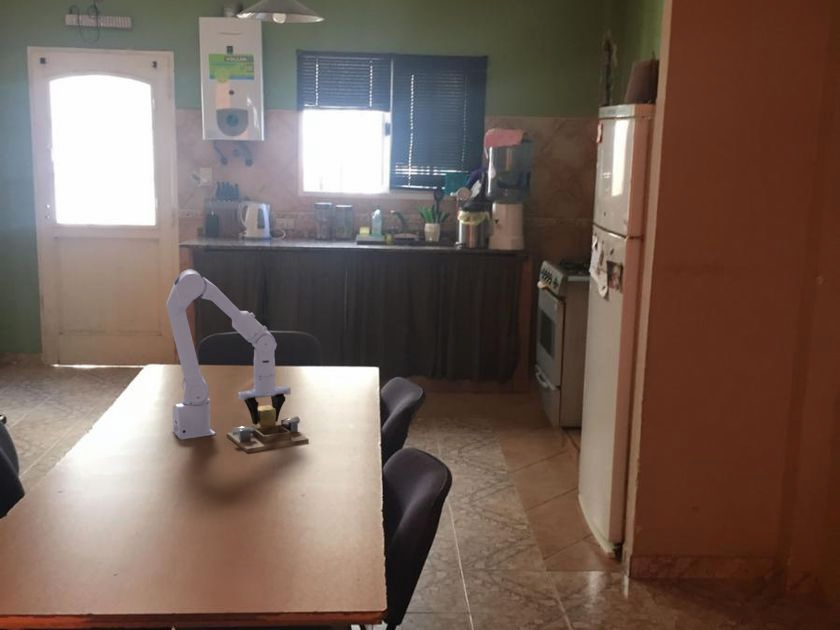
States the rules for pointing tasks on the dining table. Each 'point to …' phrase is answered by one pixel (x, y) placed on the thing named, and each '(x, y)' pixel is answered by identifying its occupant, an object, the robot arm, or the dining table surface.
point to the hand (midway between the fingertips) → (265, 422)
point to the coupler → (266, 416)
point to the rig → (269, 439)
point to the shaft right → (291, 424)
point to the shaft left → (244, 433)
